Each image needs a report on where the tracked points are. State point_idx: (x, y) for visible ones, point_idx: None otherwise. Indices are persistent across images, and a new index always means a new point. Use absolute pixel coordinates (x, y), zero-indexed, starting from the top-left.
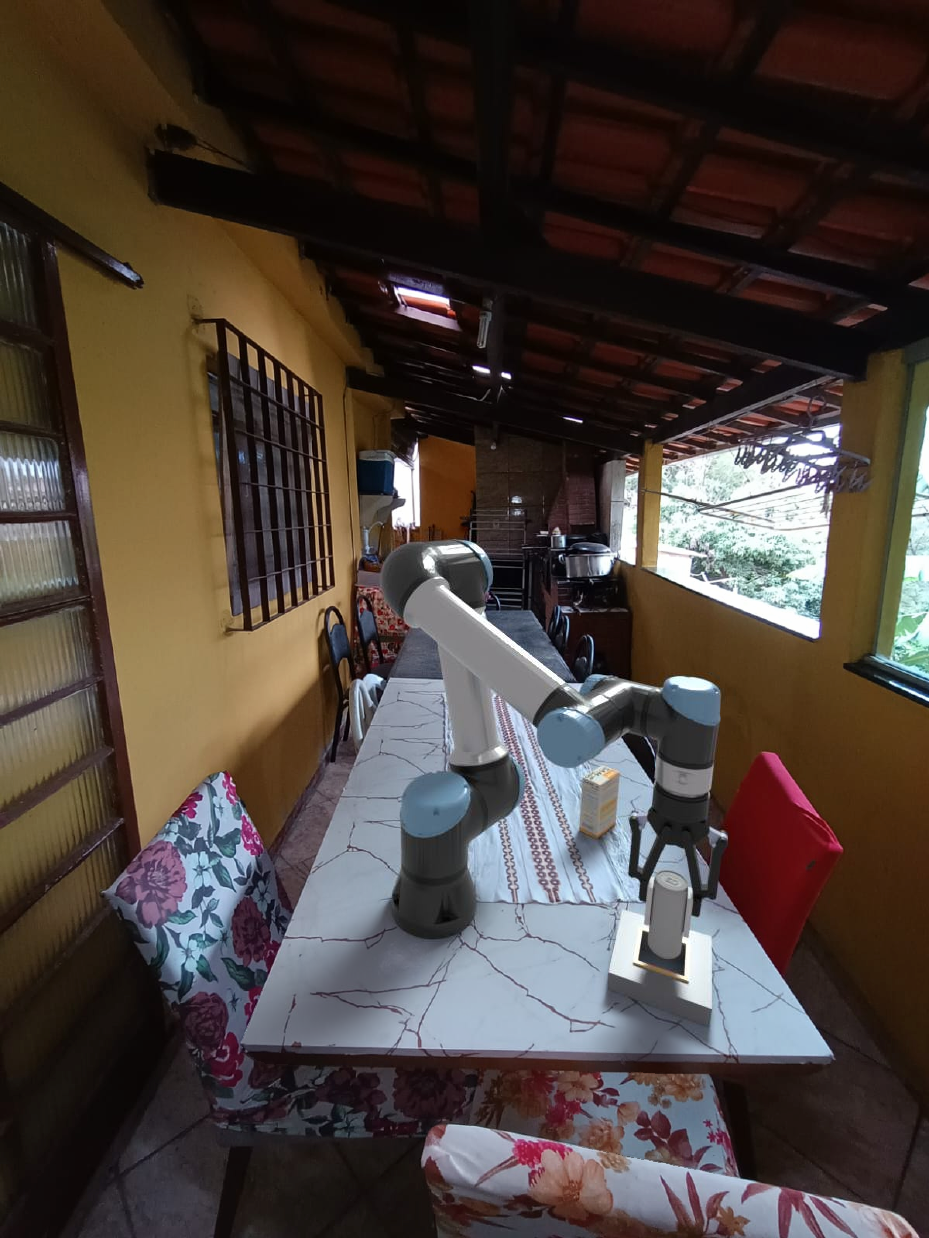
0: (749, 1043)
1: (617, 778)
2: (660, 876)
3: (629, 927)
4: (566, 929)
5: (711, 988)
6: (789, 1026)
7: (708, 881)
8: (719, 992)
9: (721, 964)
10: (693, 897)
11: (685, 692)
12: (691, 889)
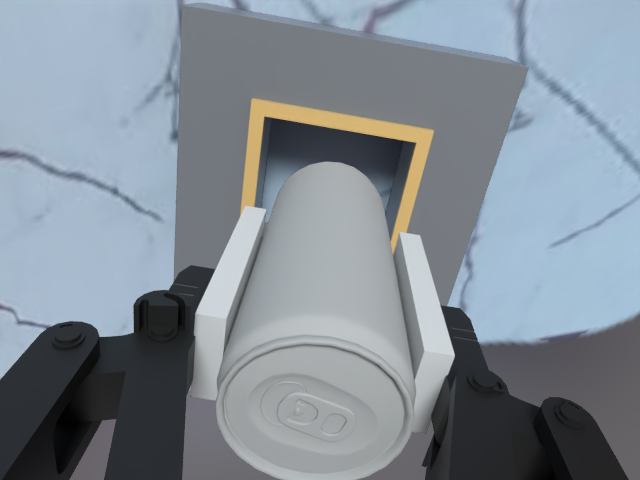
0: (507, 323)
1: None
2: (247, 398)
3: (218, 107)
4: (29, 89)
5: (453, 283)
6: (631, 264)
7: (551, 461)
8: (484, 209)
9: (530, 102)
10: (426, 457)
11: None
12: (438, 369)
